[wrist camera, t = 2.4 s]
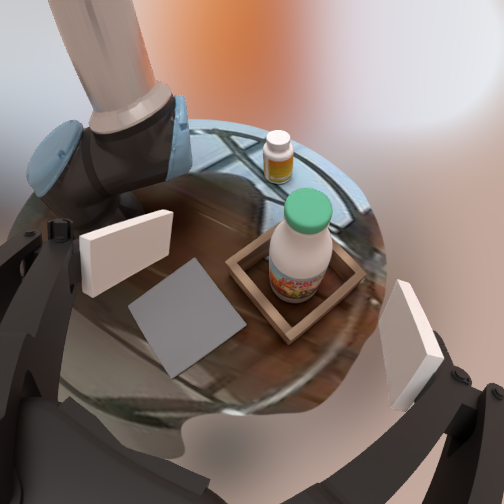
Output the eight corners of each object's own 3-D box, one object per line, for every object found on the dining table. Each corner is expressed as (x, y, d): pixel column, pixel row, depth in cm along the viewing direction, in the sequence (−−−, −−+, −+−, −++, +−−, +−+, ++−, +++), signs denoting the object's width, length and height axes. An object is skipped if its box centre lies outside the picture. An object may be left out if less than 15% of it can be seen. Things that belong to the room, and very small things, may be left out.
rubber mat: (129, 307, 43) (127, 306, 43) (195, 258, 46) (194, 257, 46) (172, 378, 38) (171, 378, 37) (247, 325, 41) (246, 324, 40)
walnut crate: (229, 274, 45) (224, 261, 40) (298, 224, 48) (300, 207, 43) (288, 345, 39) (290, 341, 35) (357, 285, 42) (366, 273, 38)
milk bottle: (261, 269, 45) (254, 190, 27) (304, 250, 46) (321, 165, 28) (282, 312, 42) (292, 255, 24) (327, 291, 42) (364, 222, 25)
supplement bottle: (297, 176, 53) (301, 139, 44) (275, 189, 52) (275, 152, 43) (280, 160, 55) (280, 123, 46) (258, 172, 54) (255, 135, 45)
